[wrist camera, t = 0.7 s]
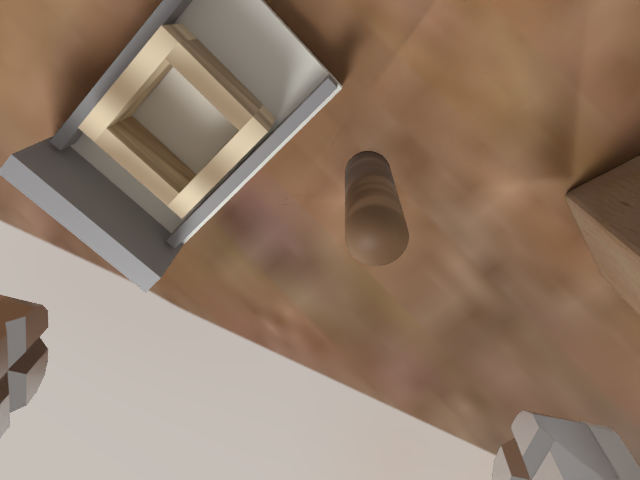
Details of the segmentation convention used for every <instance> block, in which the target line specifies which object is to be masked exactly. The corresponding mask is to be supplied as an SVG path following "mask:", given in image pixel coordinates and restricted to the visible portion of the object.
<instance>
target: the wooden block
mask: <svg viewBox="0 0 640 480" xmlns="http://www.w3.org/2000/svg"><path fill="white" fill-rule="evenodd" d="M566 201H567V203H568V205H569V207H570V209H571V211H572V214H573V216H574V218H575V220H576V222H577V224H578V226H579V228H580V231H581V233H582V235H583V237H584V239H585V241H586V243H587V245H588V248H589V250H590V252H591V254H592V256H593V258H594V260H595V262H596V265H597V267H598V269H599V271H600V273H601V275H602V277H603V278H604V279H605V280H606V281H607V282H608V283H609V284H610V285H611V286H612V288H613V289H614V290H615V291H616V292H617V293H618V294H619V295H620V296H621V297H622V298H623V299H624V300H625V301H626V302H627V303H628V304H629V305H630V306H631V307H632V308H633V309H634V310H635V311H636V312H637V313H638V314H639V315H640V155H639V156H637V157H635V158H633V159H631V160H629V161H628V162H626V163H624V164H622V165H620V166H618V167H616V168H614V169H612V170H610V171H608V172H606V173H604V174H602V175H600V176H598V177H596V178H595V179H593V180H591V181H589V182H587V183H585V184H583V185H581V186H579V187H577V188H575V189H573V190H571V191H569V192H568V193H567V194H566Z"/></svg>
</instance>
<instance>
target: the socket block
mask: <svg viewBox="0 0 640 480" xmlns="http://www.w3.org/2000/svg"><path fill="white" fill-rule="evenodd" d="M173 67H174V68H175V69H176V70H177V71H178V72H179V73H180V74H181V75H182V76H183V77H184V78H185V79H186V80H187V81H188V82H190V83H191V84H192V85H193V86H194V87H195V88H196V89H197V90H198V91H199V92H200V93H201V94H202V95H203V96H204V97H205V98H206V99H207V100H208V101H209V102H210V103H211V104H212V105H213V106H214V107H215V108H216V109H217V110H218V111H219V112H220V113H221V114H222V115H223V116H224V117H225V118H226V119H227V120H228V121H230V122H231V123H232V124H233V125H234V126H235V127H236V128H237V129H238V130H239V131H238V132H237V133H236V134H235V135H234V136H233V137H232V138H231V139H230V140H229V141H228V142H227V143H226V144H225V145H224V146H223V147H222V148H221V149H220V150H219V151H218V152H217V153H216V155H215V156H214V157H213V158H212V159H211V160H210V161H209V162H208V163H207V164H206V165H205V166H204V167H203V168H202V169H201V170H200V171H199V172H198V173H197V174H195V173H194V172H193V171H192V170H191V169H190V168H189V167H187V166H186V165H185V164H184V163H183V162H182V161H181V160H180V159H179V158H178V157H177V156H175V155H174V154H173V153H172V152H171V151H170V150H169V149H168V148H167V147H166V146H165V145H163V144H162V143H161V142H160V141H159V140H158V139H157V138H156V137H155V136H154V135H153V134H151V133H150V132H149V131H148V130H147V129H146V128H145V127H144V126H143V125H142V124H141V123H139V122H138V121H137V120H136V119H135V118H134V117H133V116H132V115H133V113H134V112H135V111H136V110H137V109H138V107H139V106H140V105H141V104H142V103H143V102H144V100H145V99H146V98H147V97H148V96H149V95H150V93H151V92H152V91H153V90H154V89H155V88H156V86H157V85H158V84H159V83H160V82H161V81H162V79H163V78H164V77H165V76H166V75H167V74H168V72H169V71H170V70H171V69H172V68H173ZM275 120H276V117H275V116H274V115H273V114H272V113H271V112H270V111H269V110H268V109H267V108H266V107H265V106H264V105H263V104H262V103H261V102H260V101H259V100H258V99H257V98H256V97H255V96H254V95H253V94H252V93H251V92H250V91H249V90H248V89H247V88H246V87H245V86H244V85H243V84H242V83H241V82H240V81H239V80H238V79H237V78H236V77H235V76H234V75H233V74H232V73H231V72H230V71H229V70H228V69H227V68H226V67H225V66H224V65H223V64H222V63H221V62H220V61H219V60H218V59H217V58H216V57H215V56H214V55H213V54H212V53H211V52H210V51H209V50H208V49H207V48H206V47H205V46H204V45H203V44H202V43H201V42H200V41H199V40H198V39H197V38H196V37H195V36H194V35H193V34H192V33H191V32H190V30H189V29H188V28H187V27H186V26H185V25H184V24H183V23H182V24H171V25H161V26H160V27H159V29H158V30H157V31H156V32H155V34H154V35H153V36H152V37H151V39H150V40H149V41H148V42H147V43H146V45H145V46H144V47H143V48H142V50H141V51H140V52H139V53H138V54H137V56H136V57H135V58H134V59H133V61H132V62H131V63H130V64H129V65H128V67H127V68H126V69H125V70H124V72H123V73H122V74H121V75H120V77H119V78H118V79H117V80H116V81H115V83H114V84H113V85H112V86H111V88H110V89H109V90H108V91H107V92H106V94H105V95H104V96H103V97H102V99H101V100H100V101H99V102H98V103H97V105H96V106H95V107H94V108H93V110H92V111H91V112H90V113H89V115H88V116H87V117H86V118H85V119H84V121H83V122H82V123H81V124H80V126H79V127H78V128H79V129H80V130H81V131H82V132H83V133H85V134H86V135H87V136H88V137H89V138H90V139H91V140H93V141H94V142H95V143H96V144H97V145H98V146H99V147H101V148H102V149H103V150H104V151H105V152H106V153H107V154H109V155H110V156H111V157H112V158H113V159H114V160H115V161H117V162H118V163H119V164H120V165H121V166H122V167H123V168H124V169H126V170H127V171H128V172H129V173H130V174H131V175H132V176H134V177H135V178H136V179H137V180H138V181H139V182H140V183H142V184H143V185H144V186H145V187H146V188H147V189H148V190H150V191H151V192H152V193H153V194H154V195H155V196H156V197H158V198H159V199H160V200H161V201H162V202H163V203H164V204H165V205H167V206H168V207H169V208H170V209H171V210H172V211H173V212H175V213H176V214H177V215H178V216H179V217H180V218H181V219H182V218H183V217H184V216H185V215H186V214H187V213H188V212H189V211H190V210H191V209H192V208H193V207H194V206H195V205H196V204H197V203H198V202H199V201H200V200H201V199H202V198H203V197H204V196H205V195H206V194H207V193H208V192H209V191H210V190H211V189H212V188H213V187H214V186H215V185H216V184H217V183H218V182H219V181H220V180H221V179H222V178H223V177H224V176H225V175H226V174H227V173H228V172H229V171H230V170H231V169H232V168H233V167H234V166H235V165H236V164H237V163H238V162H239V161H240V160H241V159H242V158H243V157H244V156H245V155H246V154H247V153H248V152H249V151H250V150H251V149H252V148H253V147H254V146H255V145H256V144H257V142H258V141H259V140H260V139H261V138H262V137H263V136H264V135H265V134H266V133H267V132H268V131H269V130H270V128H271V126H272V125H273V123H274V122H275Z"/></svg>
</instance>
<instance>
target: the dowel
mask: <svg viewBox="0 0 640 480" xmlns="http://www.w3.org/2000/svg"><path fill="white" fill-rule="evenodd" d="M408 240H409V233H408V229H407V225H406V222H405V218H404V215H403V211H402V208H401V204H400V201H399V197H398V194H397V190H396V187H395V183H394V180H393V176H392V173H391V169H390V166H389V163H388V162H387V160H386V159H385V158H384V157H383V156H382V155H381V154H379V153H376V152H373V151H364V152H360V153H358V154H356V155H354V156H353V157H352V158H351V159H350V160H349V162H348V164H347V166H346V169H345V241H346V246H347V248H348V250H349V252H350V254H351V255H352V256H353V257H354V258H355V259H356V260H358V261H359V262H361V263H363V264H366V265H371V266H382V265H386V264H389V263H391V262H393V261H395V260H396V259H398V258H399V257H400V256H401V255H402V254H403V252H404V251H405V249H406V247H407V244H408Z"/></svg>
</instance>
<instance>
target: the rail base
mask: <svg viewBox="0 0 640 480" xmlns="http://www.w3.org/2000/svg"><path fill="white" fill-rule="evenodd" d="M182 23H183V24H184V25H185V26H186V27H187V28H188V29H189V30H190V32H191V33H192V34H193V35H194V36H195V37H196V38H197V39H198V40H199V41H200V42H201V43H202V44H203V45H204V46H205V47H206V48H207V49H208V50H209V51H210V52H211V53H212V54H213V55H214V56H215V57H216V58H217V59H218V60H219V61H220V62H221V63H222V64H223V65H224V66H225V67H226V68H227V69H228V70H229V71H230V72H231V73H232V74H233V75H234V76H235V77H236V78H237V79H238V80H239V81H240V82H241V83H242V84H243V85H244V86H245V87H246V88H247V89H248V90H249V91H250V92H251V93H252V94H253V95H254V96H255V97H256V98H257V99H258V100H259V101H260V102H261V103H262V104H263V105H264V106H265V107H266V108H267V109H268V110H269V111H270V112H271V113H272V114H273V115H274V116H275V117H276V120H275V122H274V123H273V125H272V126H271V128H270V130H269V131H268V132H267V133H266V134H265V135H264V136H263V137H262V138H261V139H260V140H259V141H258V142H257V144H256V145H255V146H254V147H253V148H252V149H251V150H250V151H249V152H248V153H247V154H246V155H245V156H244V157H243V158H242V159H241V160H240V161H239V162H238V163H237V164H236V165H235V166H234V167H233V168H232V169H231V170H230V171H229V172H228V173H227V174H226V175H225V176H224V177H223V178H222V179H221V180H220V181H219V182H218V183H217V184H216V185H215V186H214V187H213V188H212V189H211V190H210V191H209V192H208V193H207V194H206V195H205V196H204V197H203V198H202V199H201V200H200V201H199V202H198V203H197V204H196V205H195V206H194V207H193V208H192V209H191V210H190V211H189V212H188V213H187V214H186V215H185V216H184V217H183V218H182V219H181V218H180V217H179V216H178V215H177V214H176V213H175V212H173V211H172V210H171V209H170V208H169V207H168V206H167V205H165V204H164V203H163V202H162V201H161V200H160V199H159V198H158V197H156V196H155V195H154V194H153V193H152V192H151V191H150V190H148V189H147V188H146V187H145V186H144V185H143V184H142V183H140V182H139V181H138V180H137V179H136V178H135V177H134V176H132V175H131V174H130V173H129V172H128V171H127V170H126V169H124V168H123V167H122V166H121V165H120V164H119V163H118V162H117V161H115V160H114V159H113V158H112V157H111V156H110V155H109V154H107V153H106V152H105V151H104V150H103V149H102V148H101V147H99V146H98V145H97V144H96V143H95V142H94V141H93V140H91V139H90V138H89V137H88V136H87V135H86V134H85V133H83V132H82V131H81V130H80V129H79V128H78V127H79V126H80V124H81V123H82V122H83V121H84V119H85V118H86V117H87V116H88V115H89V113H90V112H91V111H92V110H93V108H94V107H95V106H96V105H97V103H98V102H99V101H100V100H101V99H102V97H103V96H104V95H105V94H106V92H107V91H108V90H109V89H110V88H111V86H112V85H113V84H114V83H115V81H116V80H117V79H118V78H119V77H120V75H121V74H122V73H123V72H124V70H125V69H126V68H127V67H128V65H129V64H130V63H131V62H132V61H133V59H134V58H135V57H136V56H137V54H138V53H139V52H140V51H141V50H142V48H143V47H144V46H145V45H146V43H147V42H148V41H149V40H150V39H151V37H152V36H153V35H154V34H155V32H156V31H157V30H158V29H159V27H160V26H161V25H171V24H182ZM341 89H342V85H341V84H340V83H339V82H338V81H337V79H336V78H335V77H334V76H333V75H332V74H331V73H330V72H329V71H328V70H327V69H326V67H325V66H324V65H323V64H322V63H321V62H320V61H319V60H318V59H317V58H316V57H315V56H314V54H313V53H312V52H311V51H310V50H309V49H308V48H307V47H306V46H305V45H304V44H303V43H302V41H301V40H300V39H299V38H298V37H297V36H296V35H295V34H294V33H293V32H292V31H291V29H290V28H289V27H288V26H287V25H286V24H285V23H284V22H283V21H282V20H281V19H280V18H279V16H278V15H277V14H276V13H275V12H274V11H273V10H272V9H271V8H270V7H269V6H268V5H267V3H266V2H265V1H264V0H163V1H162V2H161V3H160V5H159V6H158V7H157V8H156V10H155V11H154V12H153V13H152V15H151V16H150V17H149V18H148V20H147V21H146V22H145V23H144V25H143V26H142V27H141V28H140V30H139V31H138V32H137V33H136V35H135V36H134V37H133V38H132V40H131V41H130V42H129V43H128V45H127V46H126V47H125V48H124V50H123V51H122V52H121V53H120V55H119V56H118V57H117V58H116V60H115V61H114V62H113V63H112V65H111V66H110V67H109V68H108V70H107V71H106V72H105V73H104V75H103V76H102V77H101V78H100V80H99V81H98V82H97V83H96V85H95V86H94V87H93V88H92V90H91V91H90V92H89V93H88V95H87V96H86V97H85V98H84V100H83V101H82V102H81V103H80V105H79V106H78V107H77V108H76V110H75V111H74V112H73V113H72V114H71V116H70V117H69V118H68V119H67V121H66V122H65V123H64V124H63V126H62V127H61V128H60V129H59V131H58V132H57V133H56V134H55V136H53V137H50V138H48V139H46V140H43V141H41V142H39V143H37V144H34V145H32V146H30V147H27V148H25V149H23V150H21V151H18V152H16V153H14V154H11V156H10V157H9V158H8V160H7V161H6V162H5V163H4V165H3V166H2V167H1V169H0V175H1V176H2V177H3V178H5V179H6V180H7V181H8V182H10V183H11V184H12V185H13V186H15V187H16V188H17V189H18V190H20V191H21V192H22V193H23V194H24V195H26V196H27V197H28V198H29V199H31V200H32V201H33V202H34V203H36V204H37V205H38V206H39V207H41V208H42V209H43V210H44V211H46V212H47V213H48V214H49V215H50V216H52V217H53V218H54V219H55V220H57V221H58V222H59V223H60V224H62V225H63V226H64V227H65V228H67V229H68V230H69V231H70V232H71V233H73V234H74V235H75V236H76V237H78V238H79V239H80V240H81V241H83V242H84V243H85V244H86V245H88V246H89V247H90V248H91V249H93V250H94V251H95V252H96V253H97V254H99V255H100V256H101V257H102V258H104V259H105V260H106V261H107V262H109V263H110V264H111V265H112V266H114V267H115V268H116V269H117V270H118V271H120V272H121V273H122V274H123V275H125V276H126V277H127V278H128V279H130V280H131V281H132V282H133V283H135V284H136V285H137V286H138V287H140V288H141V289H142V290H143V291H145V292H147V291H148V290H149V289H150V288H151V287H152V286H153V285H154V284H155V283H156V282H157V281H158V280H159V279H160V278H161V277H162V275H163V274H164V272H165V271H166V269H167V268H168V267H169V265H170V264H171V262H172V261H173V259H174V258H175V256H176V255H177V253H178V252H179V250H180V249H181V248H182V246H183V245H184V243H185V242H187V241H188V240H189V239H190V238H191V237H192V236H193V235H194V234H195V233H196V232H197V231H198V230H199V229H200V228H201V227H202V226H203V225H204V224H205V223H206V222H207V221H208V220H209V219H210V218H211V217H212V216H213V215H214V214H215V213H216V212H217V211H218V210H219V209H220V208H221V207H222V206H223V205H224V204H225V203H226V202H227V201H228V200H229V199H230V198H231V197H232V196H233V195H234V194H235V193H236V192H237V191H238V190H239V189H240V188H241V187H242V186H243V185H244V184H245V183H246V182H247V181H248V180H249V179H250V178H251V177H253V176H254V175H255V174H256V173H257V172H258V171H259V170H260V169H261V168H262V167H263V166H264V165H265V164H266V163H267V162H268V161H269V160H270V159H271V158H272V157H273V156H274V155H275V154H276V153H277V152H278V151H279V150H280V149H281V148H282V147H283V146H284V145H285V144H286V143H287V142H288V141H289V140H290V139H291V138H292V137H293V136H294V135H295V134H296V133H297V132H298V131H299V130H300V129H301V128H302V127H303V126H304V125H305V124H306V123H307V122H308V121H309V120H310V119H311V118H312V117H313V116H314V115H315V114H316V113H317V112H319V111H320V110H321V109H322V108H323V107H324V106H325V105H326V104H327V103H328V102H329V101H330V100H331V99H332V98H333V97H334V96H335V95H336V94H337V93H338V92H339V91H340V90H341ZM132 116H133V117H134V118H135V119H136V120H137V121H138V122H139V123H141V124H142V125H143V126H144V127H145V128H146V129H147V130H148V131H149V132H150V133H151V134H153V135H154V136H155V137H156V138H157V139H158V140H159V141H160V142H161V143H162V144H163V145H165V146H166V147H167V148H168V149H169V150H170V151H171V152H172V153H173V154H174V155H175V156H177V157H178V158H179V159H180V160H181V161H182V162H183V163H184V164H185V165H186V166H187V167H189V168H190V169H191V170H192V171H193V172H194V173H195V174H197V173H198V172H199V171H200V170H201V169H202V168H203V167H204V166H205V165H206V164H207V163H208V162H209V161H210V160H211V159H212V158H213V157H214V156H215V155H216V153H217V152H218V151H219V150H220V149H221V148H222V147H223V146H224V145H225V144H226V143H227V142H228V141H229V140H230V139H231V138H232V137H233V136H234V135H235V134H236V133H237V132H238V131H239V130H238V129H237V128H236V127H235V126H234V125H233V124H232V123H231V122H230V121H228V120H227V119H226V118H225V117H224V116H223V115H222V114H221V113H220V112H219V111H218V110H217V109H216V108H215V107H214V106H213V105H212V104H211V103H210V102H209V101H208V100H207V99H206V98H205V97H204V96H203V95H202V94H201V93H200V92H199V91H198V90H197V89H196V88H195V87H194V86H193V85H192V84H191V83H190V82H188V81H187V80H186V79H185V78H184V77H183V76H182V75H181V74H180V73H179V72H178V71H177V70H176V69H175V68H174V67H173V68H172V69H171V70H170V71H169V72H168V74H167V75H166V76H165V77H164V78H163V79H162V81H161V82H160V83H159V84H158V85H157V86H156V88H155V89H154V90H153V91H152V92H151V93H150V95H149V96H148V97H147V98H146V99H145V100H144V102H143V103H142V104H141V105H140V106H139V107H138V109H137V110H136V111H135V112H134V113H133V115H132Z"/></svg>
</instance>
